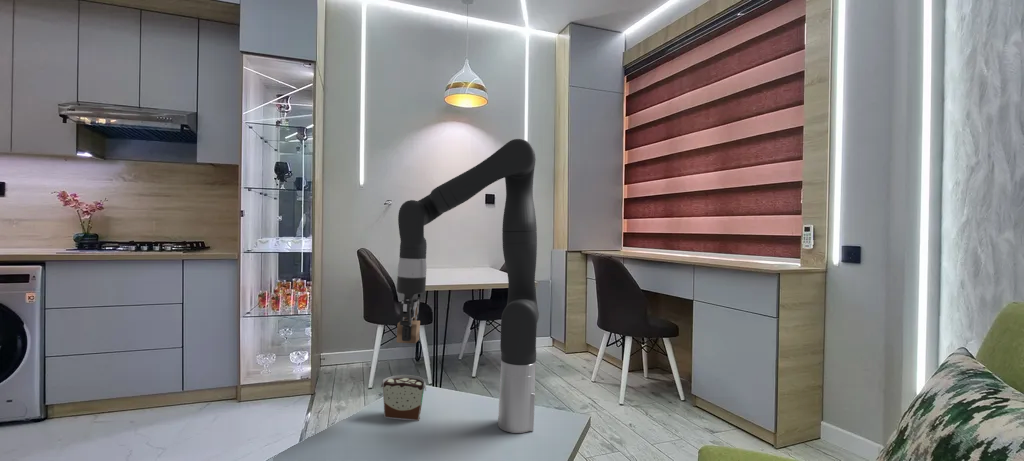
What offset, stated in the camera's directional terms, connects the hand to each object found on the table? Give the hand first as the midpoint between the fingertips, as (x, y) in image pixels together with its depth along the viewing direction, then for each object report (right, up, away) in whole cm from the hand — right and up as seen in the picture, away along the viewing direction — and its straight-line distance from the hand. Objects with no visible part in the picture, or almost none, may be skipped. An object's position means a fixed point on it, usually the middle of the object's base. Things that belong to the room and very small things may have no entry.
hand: (408, 338), depth 121 cm
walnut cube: (0, -1, 0) cm, 1 cm away
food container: (-1, -21, +2) cm, 22 cm away
